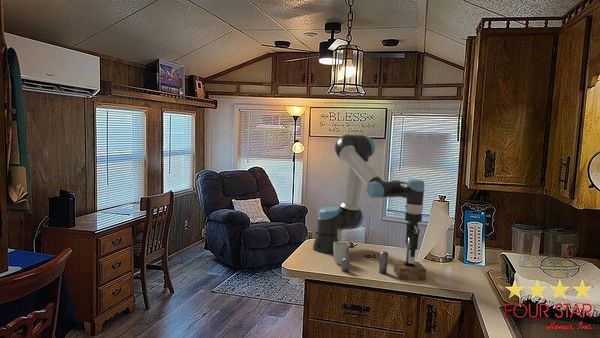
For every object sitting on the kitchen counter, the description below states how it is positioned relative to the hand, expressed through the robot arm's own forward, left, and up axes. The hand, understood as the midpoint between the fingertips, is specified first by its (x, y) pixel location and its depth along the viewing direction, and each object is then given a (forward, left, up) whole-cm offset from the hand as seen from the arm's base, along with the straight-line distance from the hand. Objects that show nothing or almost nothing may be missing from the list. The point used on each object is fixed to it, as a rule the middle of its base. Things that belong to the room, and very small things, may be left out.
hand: (410, 261), depth 204 cm
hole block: (0, 0, -7) cm, 7 cm away
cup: (-14, -31, -7) cm, 35 cm away
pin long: (0, 0, -4) cm, 4 cm away
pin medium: (-2, -12, -7) cm, 14 cm away
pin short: (-2, -30, -7) cm, 31 cm away
